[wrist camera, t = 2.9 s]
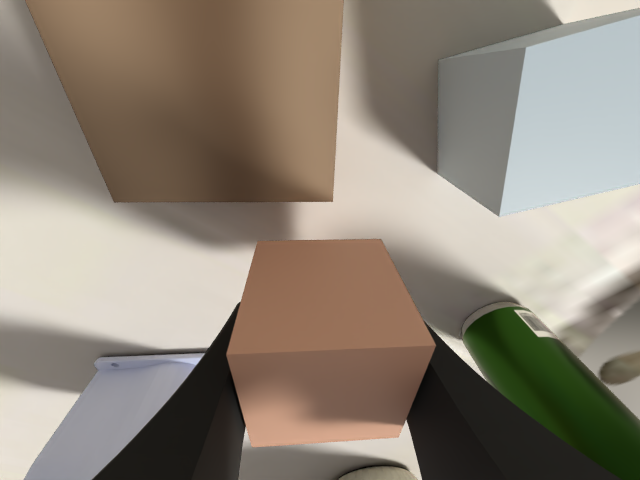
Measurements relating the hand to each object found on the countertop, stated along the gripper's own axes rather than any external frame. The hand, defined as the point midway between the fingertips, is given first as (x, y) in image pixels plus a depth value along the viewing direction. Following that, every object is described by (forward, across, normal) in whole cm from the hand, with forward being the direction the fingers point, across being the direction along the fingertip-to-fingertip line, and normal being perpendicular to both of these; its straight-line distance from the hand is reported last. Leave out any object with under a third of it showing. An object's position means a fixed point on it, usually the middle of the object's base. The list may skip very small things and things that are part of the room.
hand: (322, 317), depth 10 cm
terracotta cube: (+2, 0, 0) cm, 2 cm away
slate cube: (+6, -8, -7) cm, 12 cm away
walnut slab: (+6, +4, -8) cm, 11 cm away
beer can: (+6, -14, +8) cm, 17 cm away
